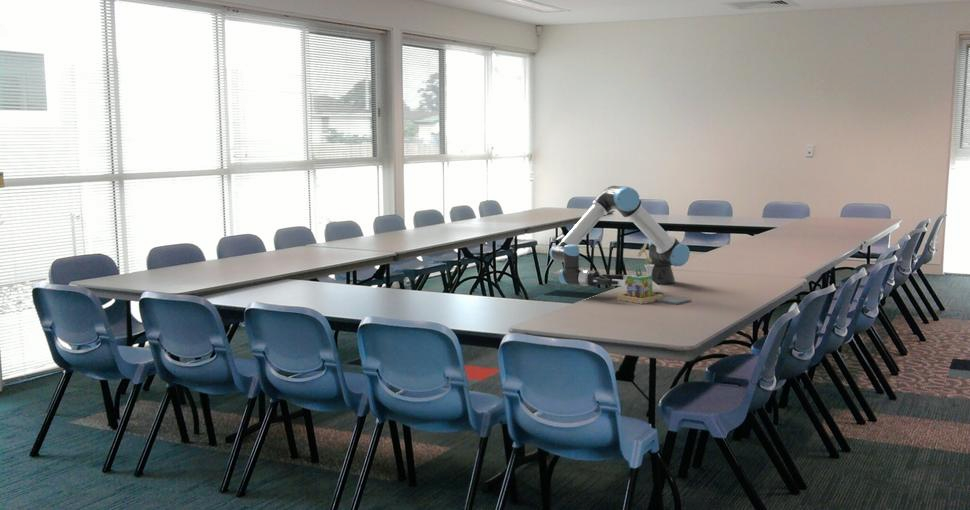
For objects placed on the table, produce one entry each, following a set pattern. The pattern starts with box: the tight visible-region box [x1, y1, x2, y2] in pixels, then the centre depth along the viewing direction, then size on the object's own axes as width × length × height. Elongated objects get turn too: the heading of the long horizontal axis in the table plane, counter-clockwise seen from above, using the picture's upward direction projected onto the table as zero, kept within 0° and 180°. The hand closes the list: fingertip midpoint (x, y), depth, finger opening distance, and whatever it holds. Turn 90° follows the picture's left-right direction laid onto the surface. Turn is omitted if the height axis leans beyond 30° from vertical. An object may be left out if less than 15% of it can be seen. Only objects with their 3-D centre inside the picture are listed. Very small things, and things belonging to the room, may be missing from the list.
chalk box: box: [626, 268, 652, 298], centre depth 432 cm, size 9×9×15 cm
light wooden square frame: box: [616, 292, 663, 305], centre depth 432 cm, size 15×15×2 cm
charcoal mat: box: [655, 295, 692, 305], centre depth 427 cm, size 12×12×1 cm
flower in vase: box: [637, 242, 662, 294], centre depth 450 cm, size 13×11×25 cm
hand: (630, 280), depth 433 cm, fingers open, 13 cm apart
